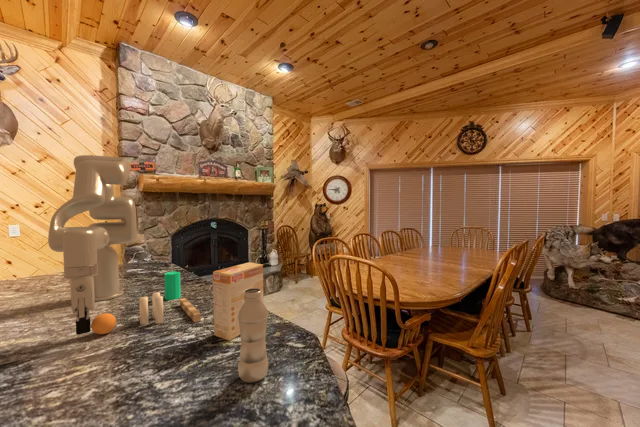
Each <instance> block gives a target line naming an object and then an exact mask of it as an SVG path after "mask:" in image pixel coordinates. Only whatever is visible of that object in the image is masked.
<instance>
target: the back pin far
mask: <svg viewBox="0 0 640 427" xmlns="http://www.w3.org/2000/svg"><path fill="white" fill-rule="evenodd" d="M157 296H161V292H159V291H158V292H153V293H151V297H152V298H151V301H152V302H151V304H152V305H151V306H152V320H155V297H157Z"/></svg>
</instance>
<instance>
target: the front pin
mask: <svg viewBox="0 0 640 427" xmlns="http://www.w3.org/2000/svg"><path fill="white" fill-rule="evenodd" d="M138 301H139V303H138V304H139V325H146V324H149V323H150V321H149V296H142V297H139V299H138Z"/></svg>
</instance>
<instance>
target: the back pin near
mask: <svg viewBox="0 0 640 427" xmlns="http://www.w3.org/2000/svg"><path fill="white" fill-rule="evenodd" d="M164 319H165V318H164V297H163V296H162V295H160V296H157V297H155V319H154V321H155V322H154V324H155V325H159V324H163V323H164Z"/></svg>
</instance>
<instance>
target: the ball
mask: <svg viewBox="0 0 640 427" xmlns="http://www.w3.org/2000/svg"><path fill="white" fill-rule="evenodd" d="M116 324H117V318H116V316H115V315H114V314H111V313H101V314H98V315H97V316H96V317H95V318H94V319H93V320H92V322H91V324H90V328H91V330H92V332H94V333H95V334H97V335H105V334H108V333H110V332H112V330H114V328H115V327H116Z"/></svg>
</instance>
